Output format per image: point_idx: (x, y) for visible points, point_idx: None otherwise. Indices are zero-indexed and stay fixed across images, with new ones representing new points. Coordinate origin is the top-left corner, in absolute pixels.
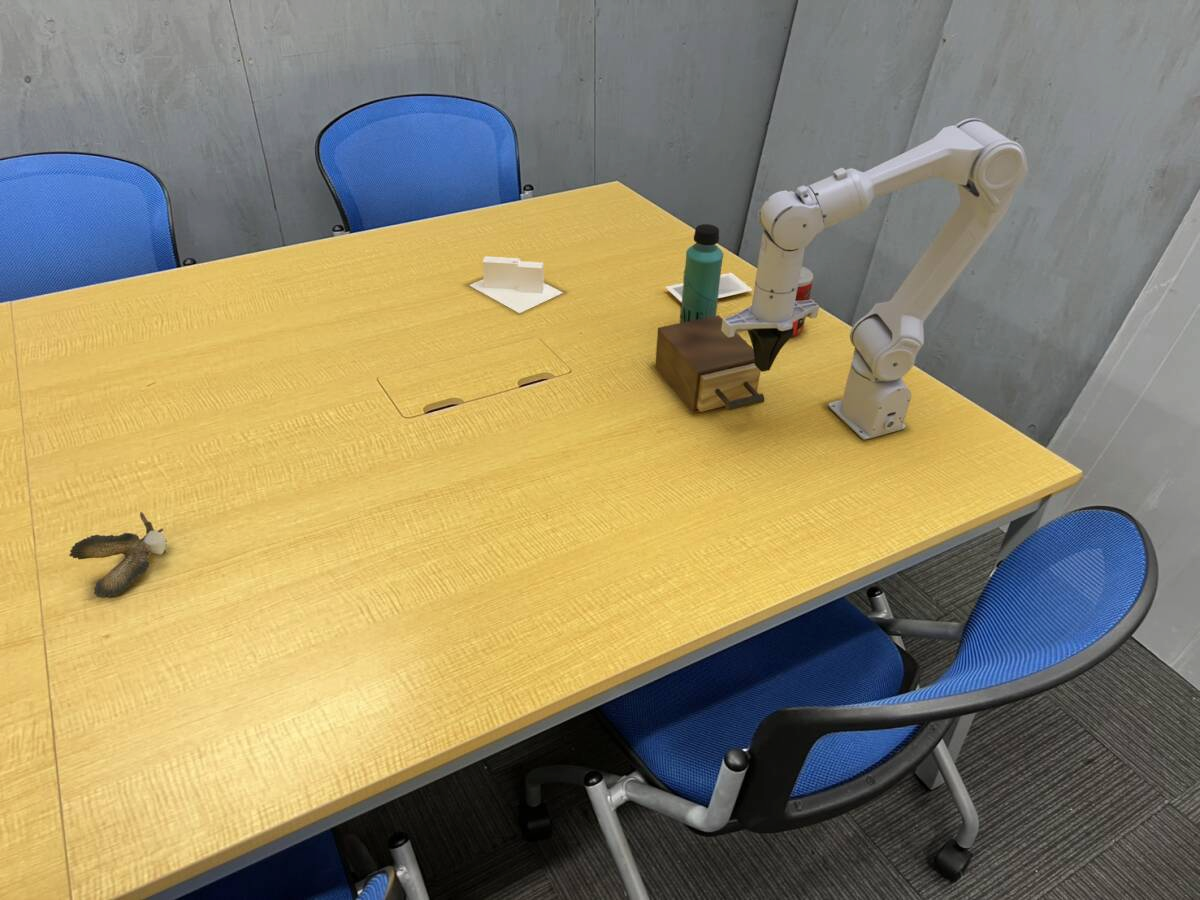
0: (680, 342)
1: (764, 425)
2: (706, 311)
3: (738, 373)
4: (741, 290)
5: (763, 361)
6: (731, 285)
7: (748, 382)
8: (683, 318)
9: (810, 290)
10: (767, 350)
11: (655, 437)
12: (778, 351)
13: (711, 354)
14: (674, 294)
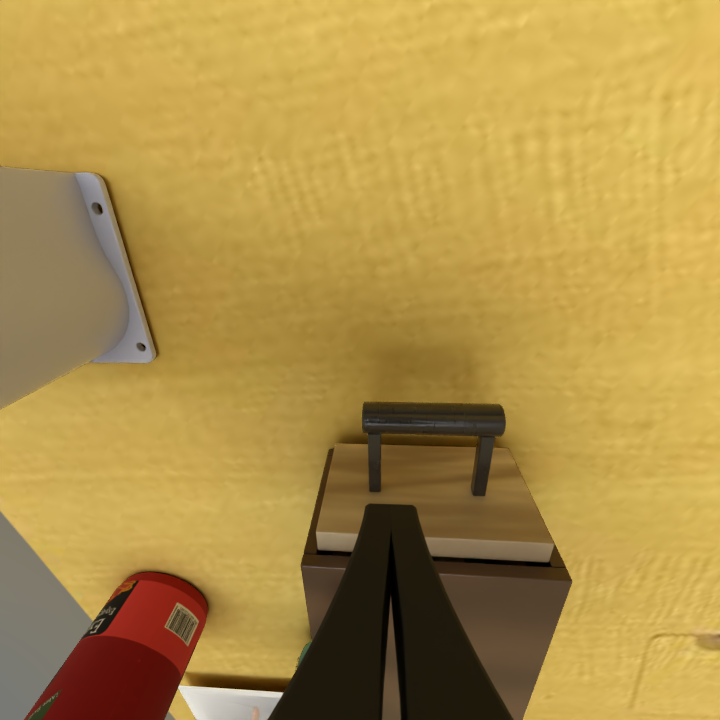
0: (507, 684)
1: (364, 349)
2: None
3: None
4: (199, 691)
5: (437, 572)
6: (212, 703)
7: (363, 488)
8: None
9: (30, 713)
10: (457, 691)
11: (673, 409)
12: (331, 632)
13: None
14: None
